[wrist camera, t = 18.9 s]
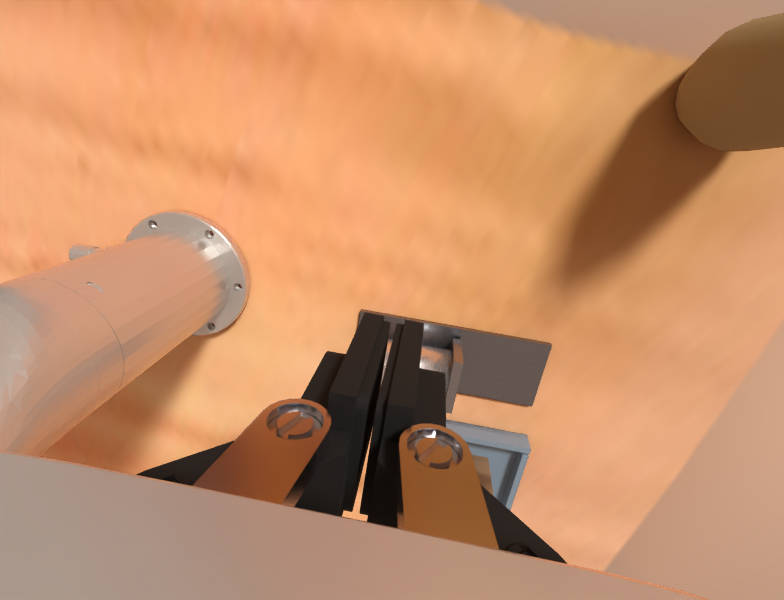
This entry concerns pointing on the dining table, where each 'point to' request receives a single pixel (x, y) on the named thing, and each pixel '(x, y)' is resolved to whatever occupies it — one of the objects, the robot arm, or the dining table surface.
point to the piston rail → (487, 359)
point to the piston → (441, 366)
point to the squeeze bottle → (737, 89)
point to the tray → (497, 456)
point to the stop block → (483, 472)
